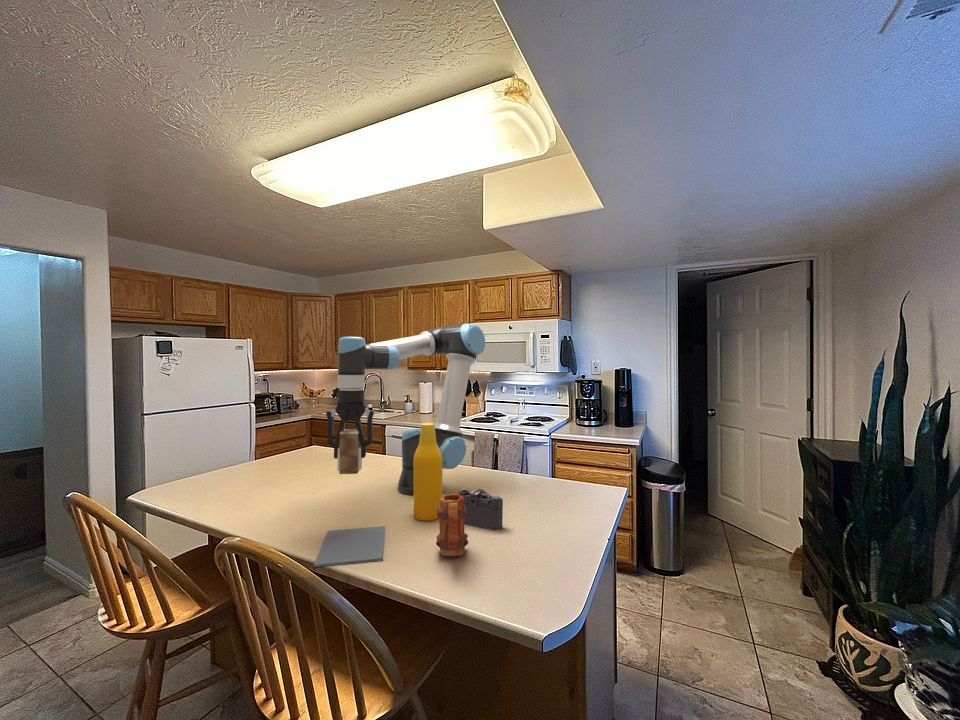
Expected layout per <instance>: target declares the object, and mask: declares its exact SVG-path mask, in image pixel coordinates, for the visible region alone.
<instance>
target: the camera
mask: <svg viewBox="0 0 960 720" xmlns="http://www.w3.org/2000/svg"><path fill="white" fill-rule="evenodd" d="M458 494H460V495H461V496H463V497H464V506H466V507H467V509H466V512H467V515H466V516H465V524H464V525H469V526H475V527H479V528H483V529H487V530H493V531H500V530H502V529H503V517H504V516H503V512H504V511H503V509H504V503H503V502H504V499H503V498H502V497H501V496H499V495H494V496H493V495H491V493H488V492H487V491H485V490H483V489H481V488H477V489H475V490H473V491H471V492H470V491H469V490H468V489H467V488H461V489H460V490H459V491H458Z"/></svg>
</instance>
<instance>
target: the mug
mask: <svg viewBox="0 0 960 720" xmlns="http://www.w3.org/2000/svg"><path fill="white" fill-rule="evenodd" d="M466 509H467V507H466V506H464V497H463V496H461V495H460V494H459V493H456V492H455V493H453V492H452V493H450V494H449V493H445V494H443V495H442V497H441V498H440V502H439V507H438V508H437V511H438V513H437V516H438V517H439V518H438V523H439V534H437V535H436V541H435V542H436V543H435V544H436V546H437V547H439V552H440V554H441V555H442V556H445V557H449V558H451V557H460V556H462V555H463V554H464V553H465V550H466V546H468V544H469V539H468V537H469V535H468V534H467V533H466V532H465V531H466V530H465V525H466V524H465V516H466V515H467V512H466Z"/></svg>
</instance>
